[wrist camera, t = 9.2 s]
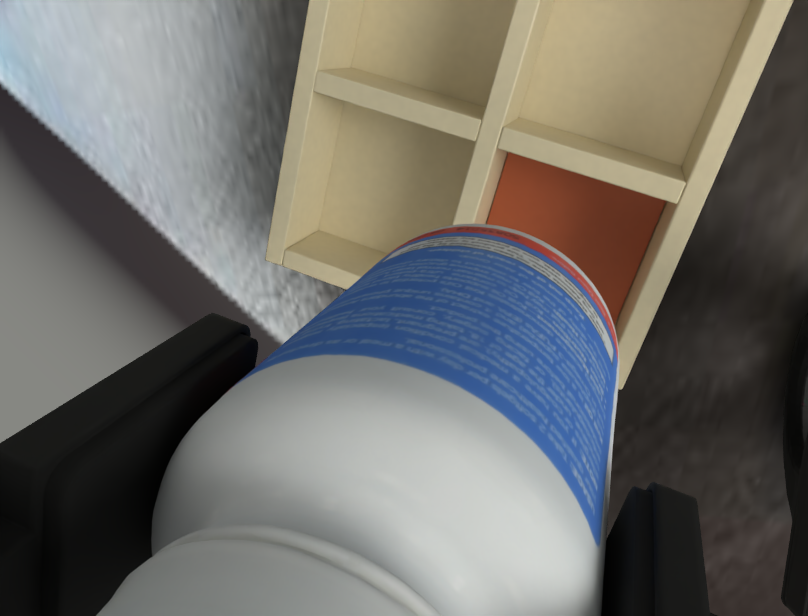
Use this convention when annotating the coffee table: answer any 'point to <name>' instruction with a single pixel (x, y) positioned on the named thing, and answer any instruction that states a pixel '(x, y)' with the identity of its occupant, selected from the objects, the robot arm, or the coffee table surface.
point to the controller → (797, 475)
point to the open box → (517, 132)
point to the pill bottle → (405, 451)
